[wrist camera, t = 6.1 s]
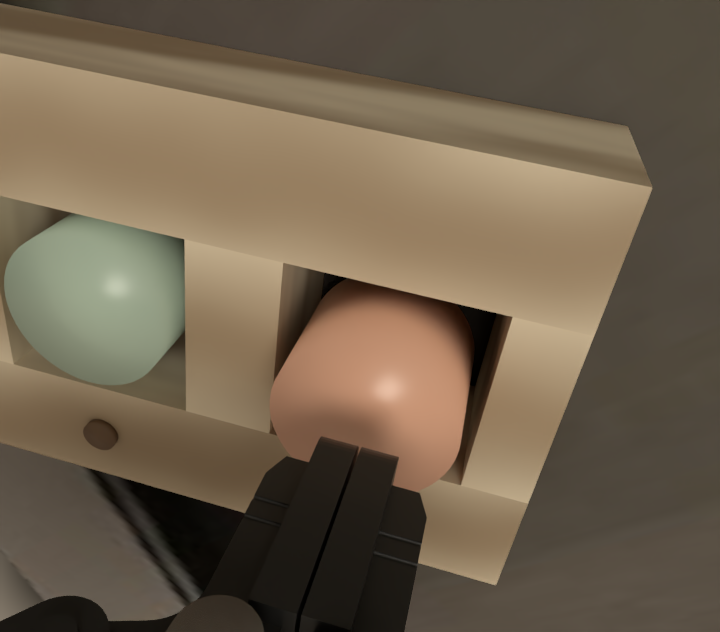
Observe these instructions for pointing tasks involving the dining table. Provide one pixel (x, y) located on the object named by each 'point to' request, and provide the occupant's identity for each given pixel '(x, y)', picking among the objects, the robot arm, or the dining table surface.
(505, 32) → the dining table surface
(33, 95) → the button panel
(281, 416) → the terracotta button
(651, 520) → the dining table surface
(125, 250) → the sage button
